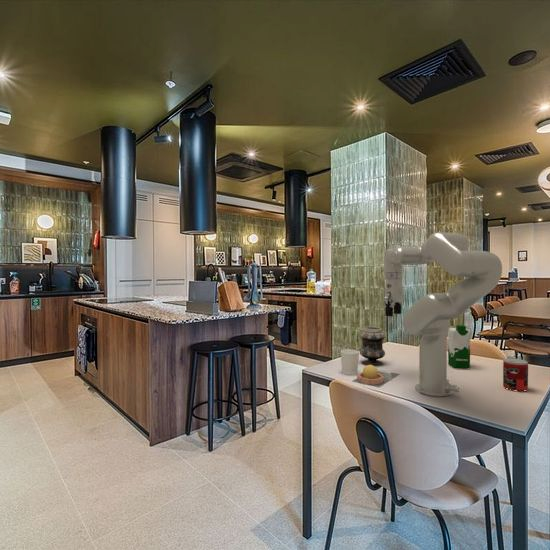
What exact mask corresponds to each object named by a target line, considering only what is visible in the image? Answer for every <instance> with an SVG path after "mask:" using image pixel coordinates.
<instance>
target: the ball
mask: <svg viewBox="0 0 550 550" xmlns="http://www.w3.org/2000/svg"><path fill="white" fill-rule="evenodd" d="M377 370H378V369H377V366H373V365H365V366H364V367H363V369H362V372H363V375H364V377H365V378H367V379H375V378H376V377H377V375H378V371H377Z"/></svg>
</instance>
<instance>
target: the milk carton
mask: <svg viewBox="0 0 550 550" xmlns="http://www.w3.org/2000/svg"><path fill="white" fill-rule="evenodd" d="M471 336H472V330H470V329H467V326H466V325H463V324H456V325H455V327H449V331H448V337H447V363H448V364H449V365H448V366H449V367H451V366H452V367H451V368H452V369H454V368H470V369H471Z"/></svg>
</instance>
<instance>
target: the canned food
mask: <svg viewBox="0 0 550 550" xmlns="http://www.w3.org/2000/svg"><path fill="white" fill-rule="evenodd" d="M528 362H529V361H527V360H524V359H520V358H514V357H513V358H511V357H509V358H508V357H507V358H503V363H502V368H503V369H502V372H503V373H502V381H503V382H502V386H503V388H504V387H505V389H506V388H508V389H511V390H517V391H524V390H527V391H528V389H529V363H528ZM508 389H507V390H508ZM511 390H510V391H511Z"/></svg>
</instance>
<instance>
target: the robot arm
mask: <svg viewBox="0 0 550 550" xmlns="http://www.w3.org/2000/svg"><path fill="white" fill-rule="evenodd" d="M469 247H470V241H469V239H468V238H467V237H466V236H465V235H464V234H462V233H459V232H440V231H439V232H435V233H432V234H430V235H429V236H428V237H427V238H426V240H425V241H423V242H422V244H421V246H419V247H418V246H415V247H413V246H412V247H409V246H408V247H406V246H404V247H403V246H400V247H396V248H395V247H394V248H386V249H385V250H384V280H385V285H384V286H385V287H384V297H383V298H384V310H385V311H384V313H385V314H384V315H385V317H394V315H401V314H402V302H403V301H404V291H403V290H404V287H403V266H419V265H426V264H431V263H434V262H435V263H437V264H438V265H439V266H440V267H441V268H442V269H443V270H445V272H447V273H448V274H449V275H452V276H454V277H458V278H464V279H462V280H460V281H459V282H457V283H456V284H455V285H454V286H453V287H452V288H450V289H449V290H448V291H445V292H437V293H436V292H435V293H434V292H433V293H432V292H431V293H428V294H425V295H423V296H421V297H420V298H419V299H418V300H417V301H416V302H415V303H414V304H412V306H411V307H410V308H409V309H407V310H406V311H405V314H404V315H403V317H402V327H403V330H404V331H405V332H406V333H407V334H409V335H412V336H421V338H420V340H419V352H418V353H419V354H418V355H419V356H418V357H419V360H418V361H419V364H418V365H419V366H418V367H419V368H418V369H419V370H418V371H419V373H418V374H419V375H418V376H419V381H418V383H416V384H415V385H414V389H415V391H416V392H419V393H420V394H423V395H426V396H430V397H438V398H439V397H440V398H441V397H448V396H451V394H452V392H454V393H459V392H460V387H458V385H457V384H451V383H450V380H449V379H447V375H448V374H447V373H448V372H447V369H448V367H447V366H448V365H447V363H448V331H449V328H451V327H450V325H451V320H455V319H457V318H459V317H460V316H461V315H463V314H464V313H465V312H467V310H469V309H470V308H471V307H473V306H474V305H475V304H477V302H479V301H480V300H482V299H483V298H484V297H485V296H486V295H487V296H488V294H489V293H490V292H492V290H494V289H495V288H496V286H497V285H498V284H499V282H500V280H501V278H502V274H503V264H502V261H501V259H500V258H499V257H500V256H498V255H496V254H495V253H493V252H490V251H487V250H486V251H485V250H469Z"/></svg>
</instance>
